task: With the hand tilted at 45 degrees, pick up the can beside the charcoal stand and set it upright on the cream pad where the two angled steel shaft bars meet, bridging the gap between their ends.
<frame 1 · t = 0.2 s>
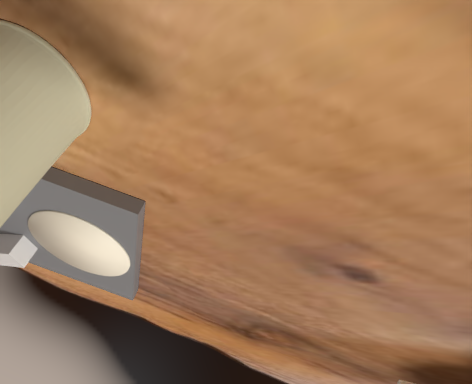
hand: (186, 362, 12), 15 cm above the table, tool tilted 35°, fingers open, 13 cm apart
can: (31, 83, 27), on the table
coupling stand: (87, 233, 40), on the table
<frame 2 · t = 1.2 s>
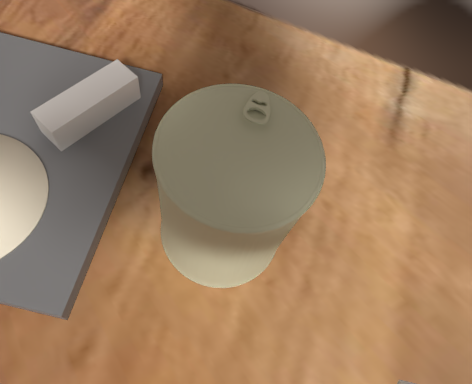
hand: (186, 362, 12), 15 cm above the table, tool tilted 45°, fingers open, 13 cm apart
can: (220, 230, 30), on the table
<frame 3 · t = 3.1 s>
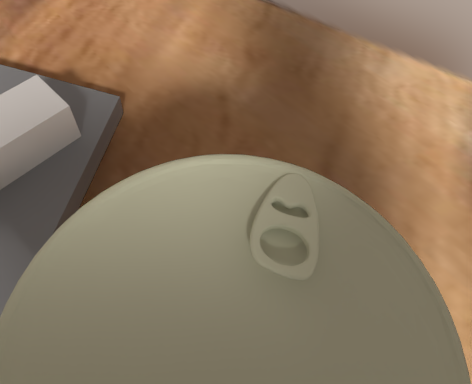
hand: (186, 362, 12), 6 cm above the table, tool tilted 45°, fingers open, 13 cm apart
can: (206, 372, 17), on the table
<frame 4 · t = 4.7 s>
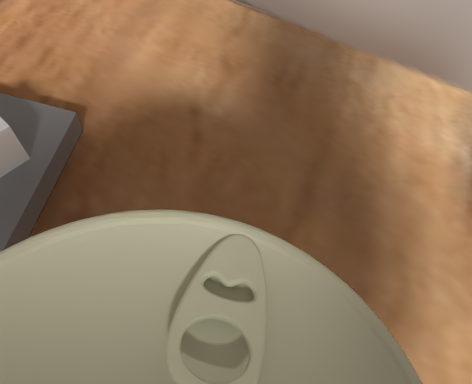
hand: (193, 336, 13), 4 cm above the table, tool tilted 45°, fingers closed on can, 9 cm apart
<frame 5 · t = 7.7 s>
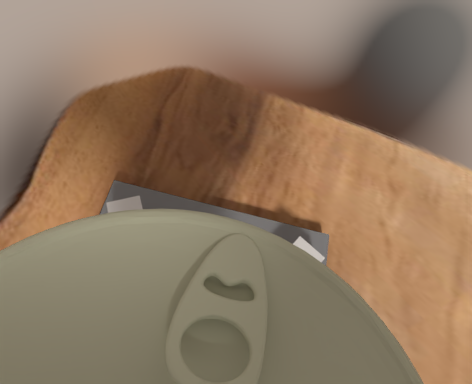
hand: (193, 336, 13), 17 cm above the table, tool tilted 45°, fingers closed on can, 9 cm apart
when the fingers open (7 cm above the table, at t = 10.5 s): can drops 1 cm, resting on coupling stand.
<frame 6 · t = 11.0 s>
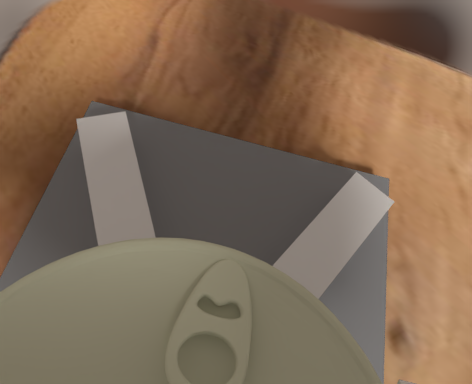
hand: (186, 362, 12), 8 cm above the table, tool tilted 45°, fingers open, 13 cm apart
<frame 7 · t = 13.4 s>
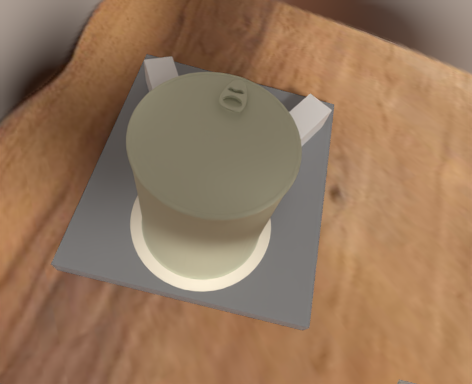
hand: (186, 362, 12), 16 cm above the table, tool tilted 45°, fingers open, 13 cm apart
can: (202, 222, 30), point 2 cm above the table, touching coupling stand
coupling stand: (201, 228, 31), on the table
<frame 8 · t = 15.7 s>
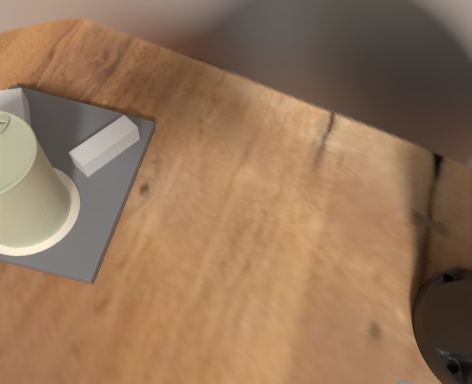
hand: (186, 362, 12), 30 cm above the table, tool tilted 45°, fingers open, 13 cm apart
can: (27, 208, 42), point 2 cm above the table, touching coupling stand
coupling stand: (32, 213, 44), on the table
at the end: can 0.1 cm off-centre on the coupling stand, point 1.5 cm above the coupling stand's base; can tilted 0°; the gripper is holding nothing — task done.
